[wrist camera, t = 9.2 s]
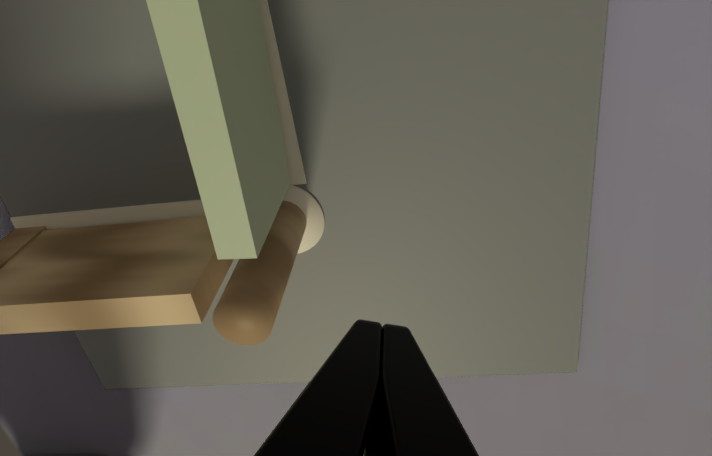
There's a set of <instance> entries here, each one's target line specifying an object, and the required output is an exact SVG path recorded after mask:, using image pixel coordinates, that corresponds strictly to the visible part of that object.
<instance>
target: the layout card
mask: <svg viewBox="0 0 712 456" xmlns="http://www.w3.org/2000/svg"><path fill="white" fill-rule="evenodd" d="M259 6H260V12H261V17H262V23H263V29H264V34H265V40H266V45H267V51H268V57H269V62H270V68H271V74H272V79H273V85H274V91H275V96H276V102H277V108H278V113H279V119H280V124H281V130H282V136H283V141H284V147H285V153H286V158H287V164H288V170H289V175H290V181H291V183H290V185H289V187H288V189H287V192H286V194H285V196H284V199H283V201H288V202H291V203H294V204H295V205H297V206H298V207H299V208H300V209H301V210H302V211H303V213H304V214H305V217H306V221H307V224H306V229H305V232H304V235H303V238H302V241H301V244H300V247H299V250H298V253H297V256H296V259H295V262H294V265H293V268H292V271H291V274H290V277H289V280H288V283H287V286H286V289H285V292H284V295H283V298H282V301H281V304H280V307H279V310H278V313H277V316H276V319H275V322H274V325H273V328H272V331H271V334H270V336H269V337H268V338H267V339H266V340H265V341H263V342H262V343H259V344H256V345H240V344H236V343H233V342H231V341H229V340H227V339H225V338H224V337H223V336H221V335H220V334H219V332H218V331H217V330H216V328H215V326H214V324H213V319H212V317H213V312H214V310H215V308H216V306H217V304H218V302H219V299H220V297H221V295H222V293H223V291H224V289H225V287H226V285H227V283H228V281H229V279H230V277H231V275H232V273H233V271H234V269H235V267H236V265H237V263H238V261H239V259H234V260H233V262H232V264H231V266H230V268H229V270H228V272H227V274H226V276H225V278H224V280H223V282H222V284H221V286H220V288H219V290H218V292H217V294H216V296H215V298H214V300H213V302H212V304H211V306H210V308H209V310H208V312H207V314H206V316H205V318H204V320H203V322H202V323H199V324H181V325H163V326H145V327H126V328H108V329H90V330H73V332H74V333H75V335H76V337H77V339H78V341H79V343H80V344H81V346H82V348H83V350H84V352H85V354H86V355H87V357H88V359H89V361H90V363H91V365H92V366H93V368H94V370H95V372H96V374H97V376H98V377H99V379H100V381H101V383H102V385H103V387H104V388H105V389H128V388H156V387H184V386H212V385H240V384H268V383H296V382H310V381H311V380H312V378H313V377H314V376H315V374H316V373H317V372H318V370H319V369H320V368H321V366H322V365H323V364H324V362H325V361H326V360H327V358H328V357H329V356H330V354H331V353H332V352H333V350H334V349H335V348H336V346H337V345H338V344H339V342H340V341H341V340H342V338H343V337H344V336H345V335H346V333H347V332H348V331H349V329H350V328H351V327H352V325H353V324H354V323H355V322H356V321H357V320H359V319H362V320H368V321H374V322H379V323H380V324H381V325H382V327H383V325H384V324H393V325H400V326H405V327H407V328H409V330H410V331H411V333H412V335H413V337H414V338H415V340H416V342H417V344H418V346H419V348H420V349H421V351H422V353H423V355H424V357H425V358H426V360H427V362H428V364H429V366H430V368H431V369H432V371H433V373H434V375H435V377H463V376H491V375H519V374H547V373H575V372H577V366H578V354H579V342H580V330H581V318H582V307H583V295H584V283H585V271H586V259H587V247H588V235H589V223H590V211H591V199H592V187H593V176H594V164H595V152H596V140H597V128H598V116H599V104H600V92H601V80H602V68H603V56H604V45H605V33H606V21H607V9H608V0H259ZM0 197H1V199H2V201H3V203H4V205H5V207H6V208H7V210H8V212H9V214H10V216H11V218H10V220H11V222H12V224H13V225H14V227H15V229H16V228H28V227H39V226H46V228H47V230H55V229H66V228H78V227H89V226H101V225H112V224H124V223H135V222H147V221H158V220H169V219H181V218H192V217H204V216H206V215H205V212H204V208H203V204H202V201H201V197H200V193H199V190H198V186H197V183H196V179H195V175H194V172H193V168H192V165H191V161H190V157H189V154H188V150H187V147H186V143H185V139H184V136H183V132H182V128H181V125H180V121H179V118H178V114H177V110H176V107H175V103H174V100H173V96H172V92H171V89H170V85H169V81H168V78H167V74H166V71H165V67H164V63H163V60H162V56H161V53H160V49H159V45H158V42H157V38H156V35H155V31H154V27H153V24H152V20H151V16H150V13H149V9H148V6H147V2H146V0H0Z"/></svg>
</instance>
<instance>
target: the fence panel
mask: <svg viewBox="0 0 712 456" xmlns="http://www.w3.org/2000/svg"><path fill="white" fill-rule="evenodd" d="M146 2H147V6H148V9H149V13H150V16H151V20H152V24H153V27H154V31H155V35H156V38H157V42H158V45H159V49H160V53H161V56H162V60H163V63H164V67H165V71H166V74H167V78H168V81H169V85H170V89H171V92H172V96H173V100H174V103H175V107H176V110H177V114H178V118H179V121H180V125H181V128H182V132H183V136H184V139H185V143H186V147H187V150H188V154H189V157H190V161H191V165H192V168H193V172H194V175H195V179H196V183H197V186H198V190H199V193H200V197H201V201H202V204H203V208H204V212H205V215H206V219H207V222H208V226H209V230H210V233H211V237H212V240H213V244H214V248H215V251H216V255H217V258H218V260H219V259H253V258H258V256H259V253H260V251H261V249H262V246H263V244H264V242H265V240H266V237H267V235H268V233H269V230H270V228H271V226H272V224H273V221H274V219H275V217H276V215H277V212H278V210H279V208H280V205H281V203H282V201H283V199H284V196H285V194H286V192H287V189H288V187H289V185H290V183H291V181H290V175H289V170H288V164H287V158H286V153H285V147H284V141H283V136H282V130H281V124H280V119H279V113H278V108H277V102H276V96H275V91H274V85H273V79H272V74H271V68H270V62H269V57H268V51H267V45H266V40H265V34H264V29H263V23H262V17H261V12H260V6H259V0H146Z"/></svg>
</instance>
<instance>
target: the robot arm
mask: <svg viewBox="0 0 712 456" xmlns="http://www.w3.org/2000/svg"><path fill="white" fill-rule="evenodd" d="M363 455H364V456H479V455H478V453H477V451H476V450H475V448H474V446H473V444H472V442H471V440H470V439H469V437H468V435H467V433H466V431H465V430H464V428H463V426H462V424H461V422H460V420H459V419H458V417H457V415H456V413H455V411H454V410H453V408H452V406H451V404H450V402H449V400H448V399H447V397H446V395H445V393H444V391H443V389H442V388H441V386H440V384H439V382H438V380H437V379H436V377H435V375H434V373H433V371H432V369H431V368H430V366H429V364H428V362H427V360H426V358H425V357H424V355H423V353H422V351H421V349H420V348H419V346H418V344H417V342H416V340H415V338H414V337H413V335H412V333H411V331H410V330H409V328H407V327H405V326H400V325H393V324H384V325H383V327H382V325H381V324H380V323H379V322H374V321H368V320H362V319H359V320H357V321H356V322H355V323H354V324H353V325H352V327H351V328H350V329H349V331H348V332H347V333H346V335H345V336H344V337H343V338H342V340H341V341H340V342H339V344H338V345H337V346H336V348H335V349H334V350H333V352H332V353H331V354H330V356H329V357H328V358H327V360H326V361H325V362H324V364H323V365H322V366H321V368H320V369H319V370H318V372H317V373H316V374H315V376H314V377H313V378H312V380H311V381H310V382H309V383H308V385H307V386H306V387H305V389H304V390H303V391H302V393H301V394H300V395H299V397H298V398H297V399H296V401H295V402H294V403H293V405H292V406H291V407H290V409H289V410H288V411H287V413H286V414H285V415H284V417H283V418H282V419H281V421H280V422H279V423H278V425H277V426H276V427H275V429H274V430H273V431H272V432H271V434H270V435H269V436H268V438H267V439H266V440H265V442H264V443H263V444H262V446H261V447H260V448H259V450H258V451H257V452H256V454H255V455H254V456H363Z"/></svg>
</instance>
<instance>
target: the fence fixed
mask: <svg viewBox="0 0 712 456" xmlns="http://www.w3.org/2000/svg"><path fill="white" fill-rule="evenodd" d="M306 224H307V221H306V217H305V214H304V213H303V211H302V210H301V209H300V208H299V207H298V206H297V205H295V204H294V203H291V202H288V201H282V203H281V205H280V208H279V210H278V212H277V215H276V217H275V219H274V221H273V224H272V226H271V228H270V230H269V233H268V235H267V237H266V240H265V242H264V244H263V246H262V249H261V251H260V253H259V256H258V258H253V259H239V261H238V263H237V265H236V267H235V269H234V271H233V273H232V275H231V277H230V279H229V281H228V283H227V285H226V287H225V289H224V291H223V293H222V295H221V297H220V299H219V302H218V304H217V306H216V308H215V310H214V312H213V317H212V319H213V324H214V326H215V328H216V330H217V331H218V332H219V334H220V335H221V336H223V337H224V338H225V339H227V340H229V341H231V342H233V343H236V344H240V345H256V344H259V343H262V342H263V341H265V340H266V339H267V338H268V337H269V336H270V334H271V331H272V328H273V325H274V322H275V319H276V316H277V313H278V310H279V307H280V304H281V301H282V298H283V295H284V292H285V289H286V286H287V283H288V280H289V277H290V274H291V271H292V268H293V265H294V262H295V259H296V256H297V253H298V250H299V247H300V244H301V241H302V238H303V235H304V232H305V229H306ZM233 260H234V259H219V260H218V258H217V255H216V251H215V248H214V244H213V240H212V237H211V233H210V230H209V226H208V222H207V219H206V216H204V217H192V218H181V219H169V220H158V221H147V222H135V223H124V224H112V225H101V226H89V227H78V228H66V229H55V230H47V228H46V226H39V227H28V228H16V229H14V230H13V231H12V232H11V233H9V234H8V235H7V236H6V237H4V238H3V239H2V240H1V241H0V334H17V333H35V332H53V331H72V330H90V329H108V328H126V327H145V326H163V325H181V324H199V323H202V322H203V320H204V318H205V316H206V314H207V312H208V310H209V308H210V306H211V304H212V302H213V300H214V298H215V296H216V294H217V292H218V290H219V288H220V286H221V284H222V282H223V280H224V278H225V276H226V274H227V272H228V270H229V268H230V266H231V264H232V262H233Z"/></svg>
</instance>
